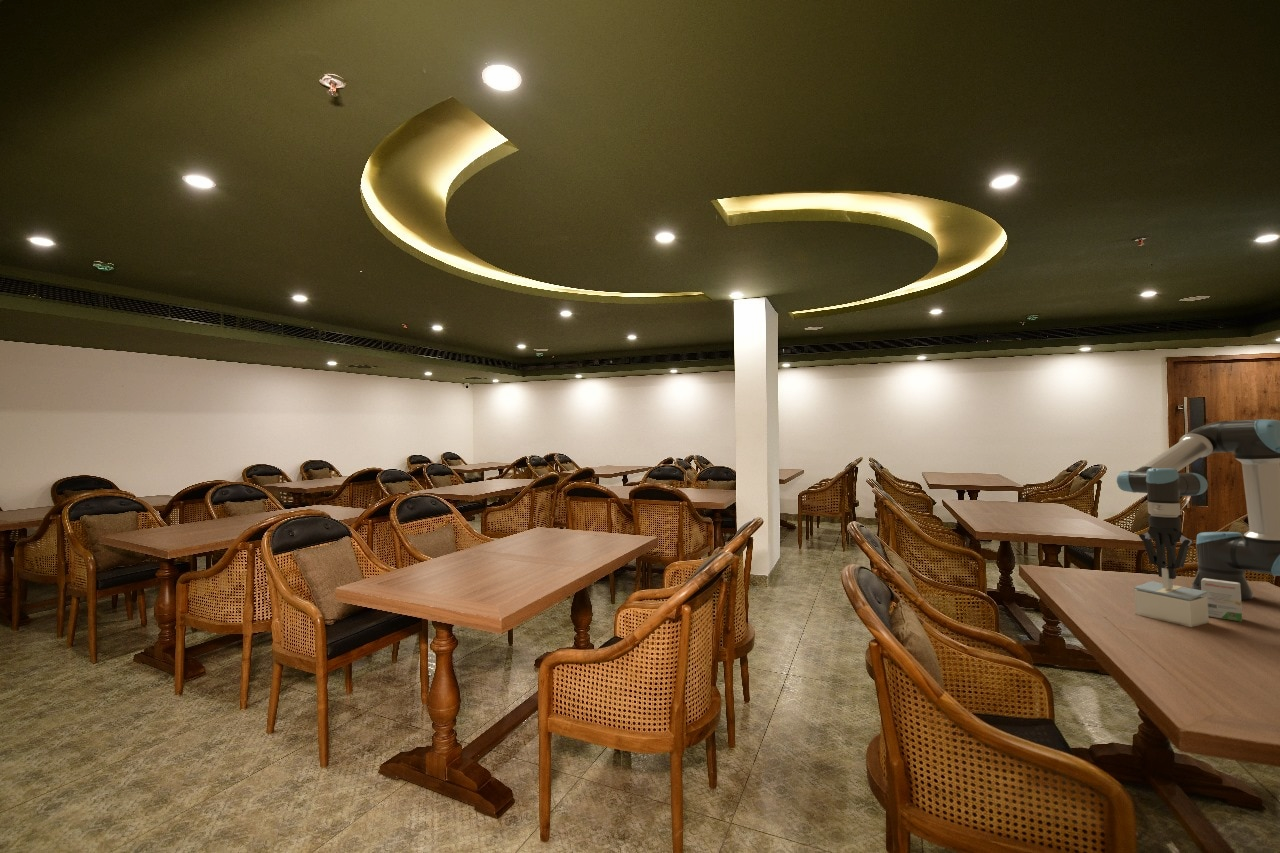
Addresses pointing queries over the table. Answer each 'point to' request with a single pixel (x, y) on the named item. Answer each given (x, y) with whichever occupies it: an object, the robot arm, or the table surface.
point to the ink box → (1223, 599)
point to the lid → (1171, 590)
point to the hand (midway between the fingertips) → (1167, 588)
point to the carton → (1172, 608)
